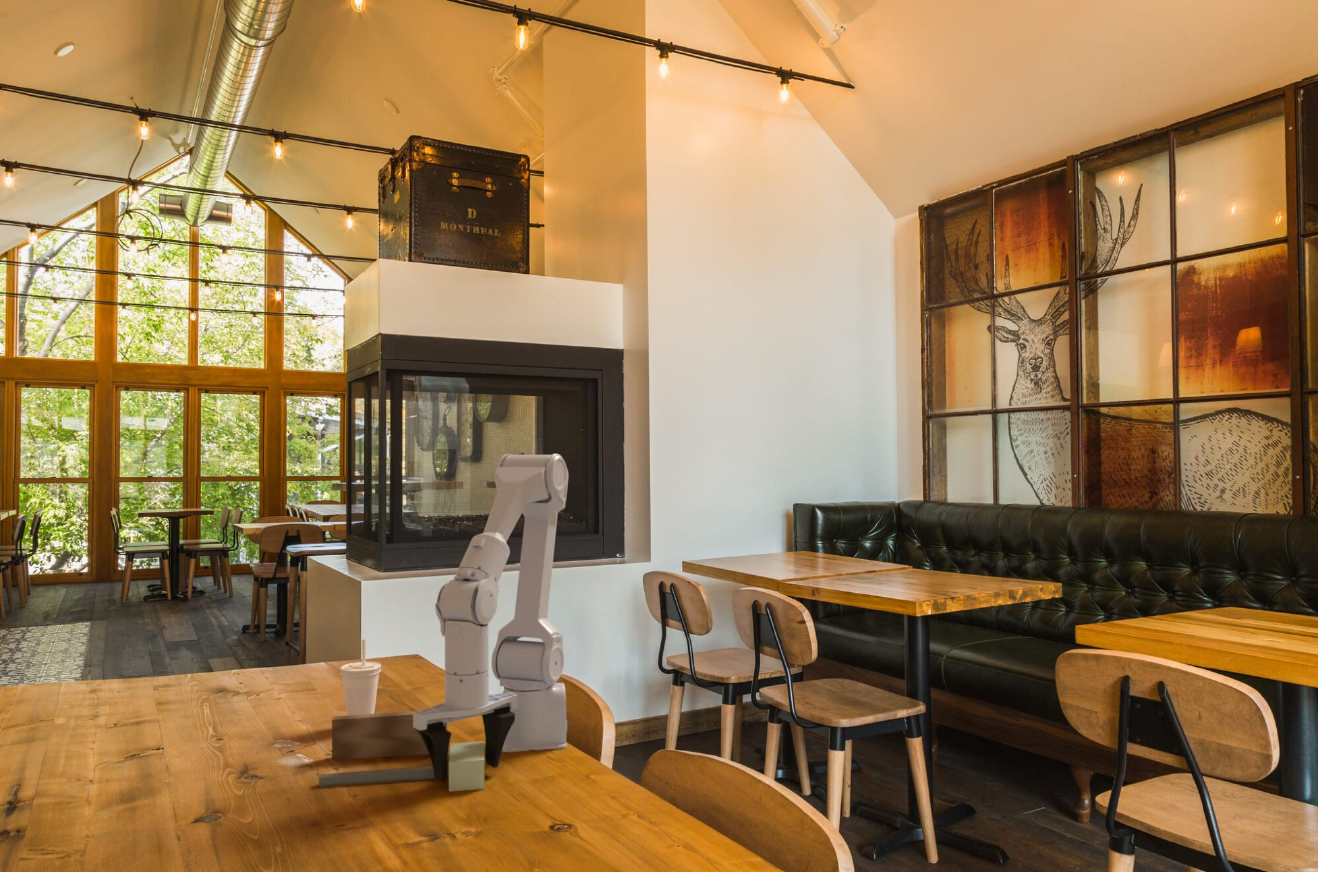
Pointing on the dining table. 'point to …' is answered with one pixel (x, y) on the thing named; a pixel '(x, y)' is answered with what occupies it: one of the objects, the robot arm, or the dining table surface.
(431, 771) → the strip
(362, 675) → the smoothie
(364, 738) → the wall board
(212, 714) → the dining table surface
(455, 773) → the cabinet block
